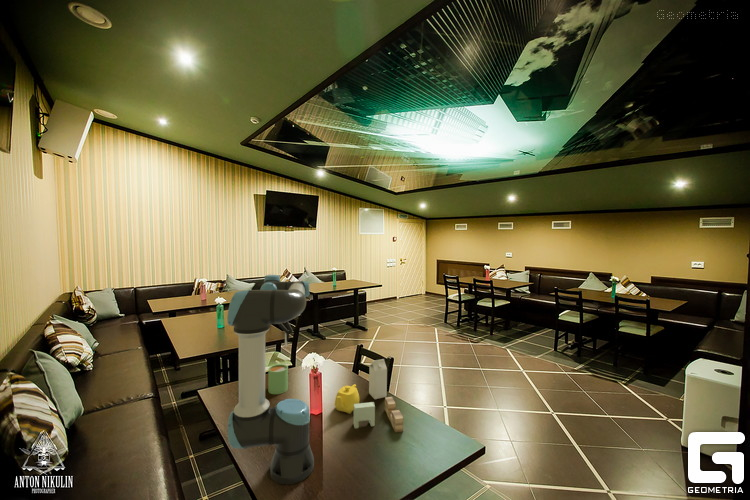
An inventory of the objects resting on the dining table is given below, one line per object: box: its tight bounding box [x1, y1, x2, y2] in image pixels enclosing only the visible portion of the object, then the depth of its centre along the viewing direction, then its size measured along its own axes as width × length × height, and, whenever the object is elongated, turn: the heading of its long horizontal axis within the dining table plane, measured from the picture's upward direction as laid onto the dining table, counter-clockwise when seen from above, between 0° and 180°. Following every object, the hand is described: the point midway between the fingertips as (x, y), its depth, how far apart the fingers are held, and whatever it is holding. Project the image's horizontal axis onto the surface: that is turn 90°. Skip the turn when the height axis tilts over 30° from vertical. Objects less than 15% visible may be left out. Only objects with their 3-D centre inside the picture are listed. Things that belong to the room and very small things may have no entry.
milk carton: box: [368, 358, 388, 400], centre depth 160 cm, size 7×7×19 cm
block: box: [353, 401, 376, 429], centre depth 134 cm, size 4×9×9 cm, turn 103°
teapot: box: [334, 384, 360, 415], centre depth 146 cm, size 18×11×11 cm, turn 156°
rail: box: [384, 396, 404, 433], centre depth 138 cm, size 18×4×6 cm, turn 13°
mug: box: [267, 363, 289, 395], centre depth 165 cm, size 13×10×12 cm
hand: (271, 347), depth 152 cm, fingers open, 13 cm apart
